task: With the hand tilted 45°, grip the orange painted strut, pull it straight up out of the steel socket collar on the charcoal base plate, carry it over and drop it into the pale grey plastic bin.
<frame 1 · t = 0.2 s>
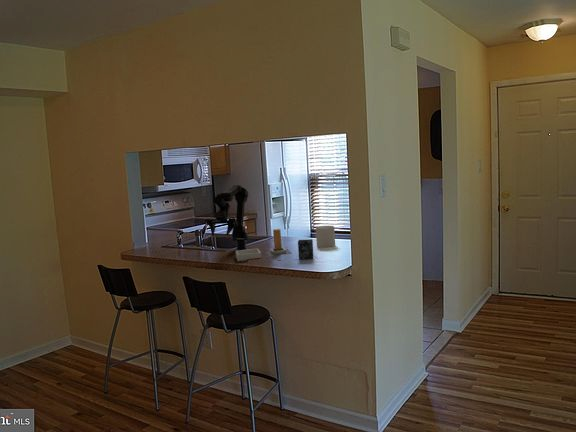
hand: (219, 235, 299), 15 cm above the table, tool tilted 35°, fingers open, 9 cm apart
socket mount: (278, 254, 307), on the table
bin: (248, 258, 301), on the table
strut: (278, 252, 306), point 1 cm above the table, touching socket mount
box: (306, 258, 289), on the table
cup: (326, 246, 322), on the table
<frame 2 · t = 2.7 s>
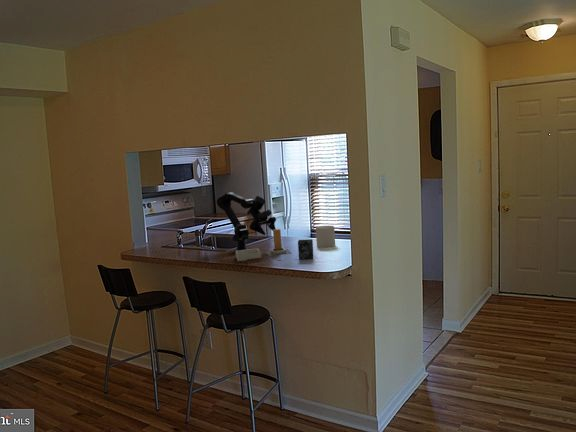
hand: (270, 233, 309), 12 cm above the table, tool tilted 45°, fingers open, 9 cm apart
nothing on the table moved.
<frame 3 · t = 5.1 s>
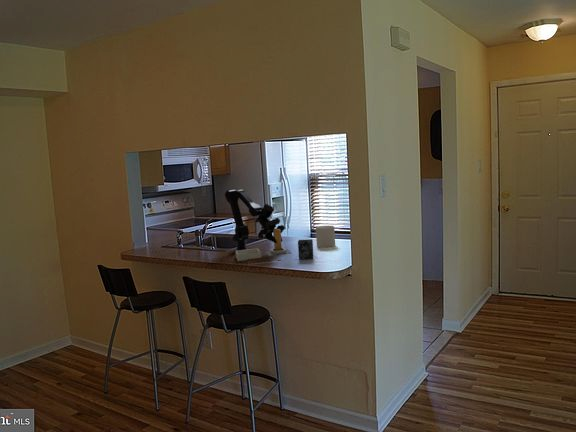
hand: (279, 242, 305), 8 cm above the table, tool tilted 45°, fingers closed on strut, 4 cm apart
strut: (278, 252, 306), point 1 cm above the table, touching gripper, socket mount
everything else where it was.
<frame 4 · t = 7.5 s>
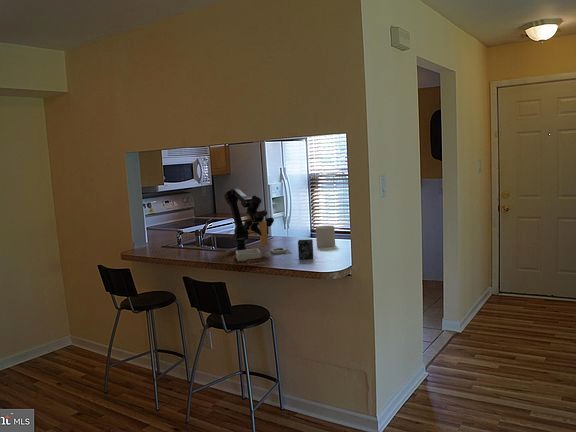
hand: (264, 234, 300), 13 cm above the table, tool tilted 45°, fingers closed on strut, 4 cm apart
strut: (264, 245, 302), point 7 cm above the table, touching gripper
everything else where it was.
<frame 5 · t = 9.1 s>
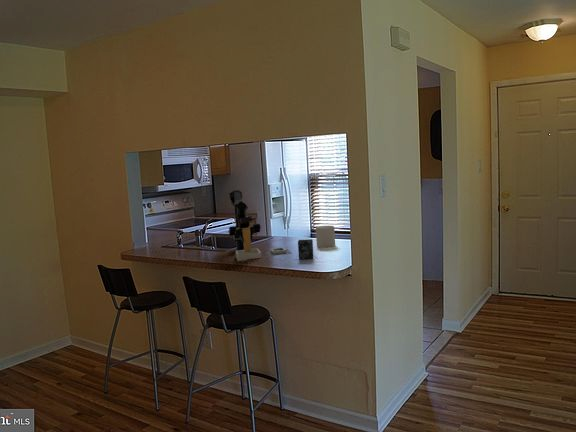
hand: (247, 240, 299), 11 cm above the table, tool tilted 45°, fingers closed on strut, 4 cm apart
strut: (247, 251, 301), point 4 cm above the table, touching gripper
everything else where it was.
when the fingers open (9 cm above the table, at t = 10.1 s): strut drops 2 cm, resting on bin.
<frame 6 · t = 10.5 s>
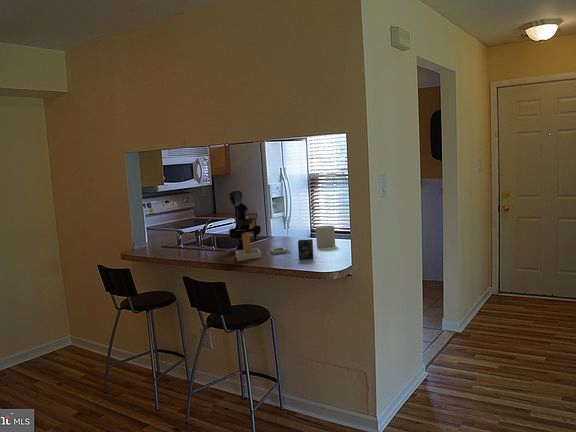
hand: (247, 242, 299), 10 cm above the table, tool tilted 45°, fingers open, 9 cm apart
strut: (248, 256, 301), point 1 cm above the table, touching bin
everything else where it was.
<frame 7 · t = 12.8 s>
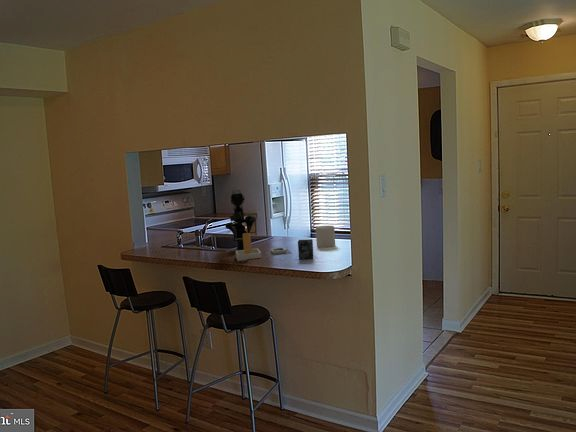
hand: (242, 235, 308), 12 cm above the table, tool tilted 30°, fingers open, 9 cm apart
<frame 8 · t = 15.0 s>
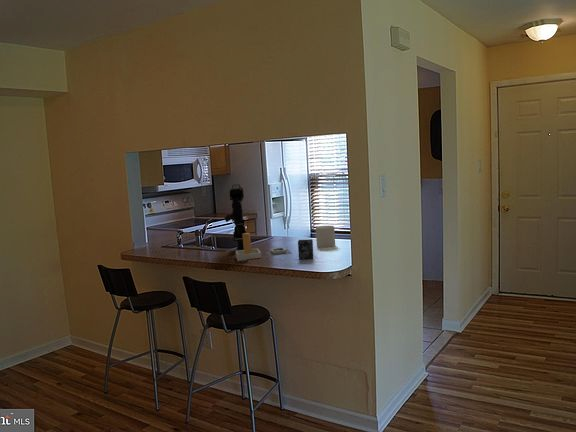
hand: (239, 233, 312), 13 cm above the table, tool pointing down, fingers open, 9 cm apart
nothing on the table moved.
at the end: strut inside the target area on the bin (0.0 cm from its centre), point 0.8 cm above the bin's base; strut touching bin; the gripper is holding nothing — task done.
